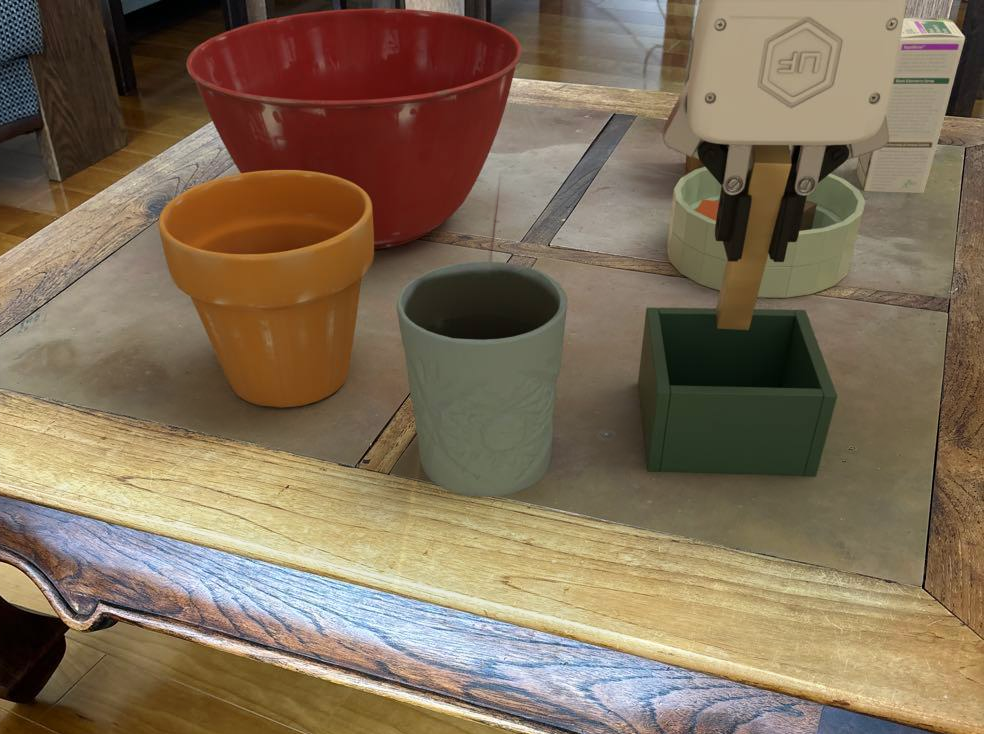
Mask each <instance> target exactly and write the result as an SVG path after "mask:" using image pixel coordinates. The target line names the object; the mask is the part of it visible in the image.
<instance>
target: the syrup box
mask: <svg viewBox="0 0 984 734" xmlns="http://www.w3.org/2000/svg"><path fill="white" fill-rule="evenodd" d="M965 39H966V36H965V35H964V34H963V33H962V31H961V29H959V27H958V25H956V23H955V22H954V21H953V20H952V19H949V18H939V17H937V18H936V17H908V18H906V17H904V20H903V26H902V33H901V39H900V45H899V51H898V57H897V63H896V68H895V74H894V80H893V85H892V89H891V94H890V99H889V103H888V107H887V111H886V119H887V126H888V132H889V141H888V143H887V145H886V146H885V147H883V148H881V149H879V150H876V151H873V152H870V153H867V154H865V155H862V156H859V157H858V159H857V164H856V165H857V166H856V168H855V169H856V170H855V171H856V173H857V177H858V180H859V182H860V184H861V188H862V190H863V191H864V192H882V193H910V194H911V193H912V194H917V193H918V194H924V192H925V190H926V186H927V183H928V179H929V175H930V172H931V169H932V165H933V162H934V158H935V153H936V152H937V151H936V150H937V147H938V143H939V140H940V135H941V132H942V127H943V124H944V120H945V116H946V113H947V109H948V106H949V101H950V97H951V93H952V89H953V86H954V82H955V78H956V74H957V70H958V66H959V63H960V59H961V56H962V52H963V48H964V44H965V41H966V40H965Z"/></svg>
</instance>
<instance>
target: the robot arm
mask: <svg viewBox="0 0 984 734" xmlns="http://www.w3.org/2000/svg"><path fill="white" fill-rule="evenodd" d="M906 5H907V0H699V1H698V6H697V10H696V15H695V20H694V25H693V31H692V35H691V41H690V47H689V52H688V58H687V65H686V70H685V78H684V79H685V80H684V87H683V89H682V91H681V92H680V95H679V96H678V98H677V101H676V102H675V104H674V105H673V108H672V110H671V112H670V114H669V116H668V118H667V120H666V121H665V123H664V124H663V125H664V126H663V127H662V131H661V134H662V140H663V143H664V146H665V147H666V148H669V149H671V150H673V151H676V152H678V153H680V154H683V155H685V156H686V155H687V156H689V157H694V158H696V159H698V160H700V161H701V162H702V164H703V165H704V166H705V167H706V168H707V169H708V171H709V172H710V173H711V174H712V175H713V176H714V177H715V179H716V180H717V181H718V182H719V183H720V184H721V185H722V186H721V192H720V199H719V205H718V211H717V218H716V224H715V238H716V241H723V244H724V248H725V252H726V255H727V259H728V261H738V259H741V258H742V253H743V248H744V242H745V236H746V231H747V225H748V220H749V214H750V208H751V203H752V197H751V195H748V192H747V191H748V185H749V181H748V178H747V171H748V164H749V158H750V152H751V146H752V145H789V146H790V156H791V164H792V165H791V169H790V173H789V177H788V180H787V184H786V188H785V192H784V196H782V200H781V204H780V208H779V211H778V215H777V219H776V223H775V227H774V231H773V235H772V239H771V243H770V246H769V250H768V253H769V256H770V259H771V260H773V261H774V262H784V260H785V255H786V250H787V245H788V242H796V241H797V239H798V235H799V230H800V225H801V221H802V216H803V211H804V207H805V202H806V197H807V195H810V194H811V193H813V192H814V191H815V189H816V187H817V184H818V183H819V182H820V181H821V180H823V179H824V178H825V177H826V176H828V175H829V174H833V172H834V171H836V170H837V169H838V168H839V167H841V166H842V165H843V164H845V163H846V161H848V160H850V159H856V158H859V156H862V155H865V154H867V153H870V152H873V151H876V150H879V149H881V148H883V147H885V146H886V145H887V143H888V141H889V132H888V126H887V119H886V111H887V107H888V103H889V99H890V94H891V89H892V85H893V80H894V74H895V68H896V63H897V57H898V51H899V45H900V39H901V33H902V26H903V20H904V19H905V12H906V7H907V6H906Z"/></svg>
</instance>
